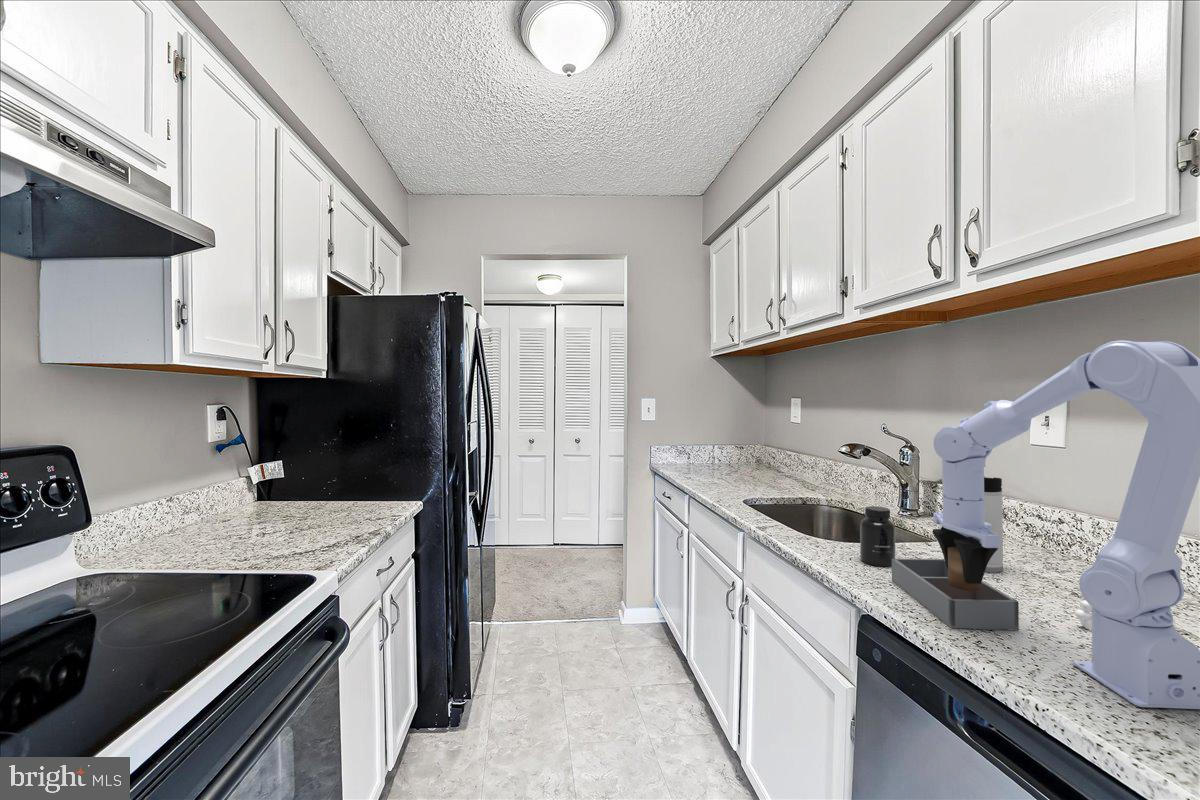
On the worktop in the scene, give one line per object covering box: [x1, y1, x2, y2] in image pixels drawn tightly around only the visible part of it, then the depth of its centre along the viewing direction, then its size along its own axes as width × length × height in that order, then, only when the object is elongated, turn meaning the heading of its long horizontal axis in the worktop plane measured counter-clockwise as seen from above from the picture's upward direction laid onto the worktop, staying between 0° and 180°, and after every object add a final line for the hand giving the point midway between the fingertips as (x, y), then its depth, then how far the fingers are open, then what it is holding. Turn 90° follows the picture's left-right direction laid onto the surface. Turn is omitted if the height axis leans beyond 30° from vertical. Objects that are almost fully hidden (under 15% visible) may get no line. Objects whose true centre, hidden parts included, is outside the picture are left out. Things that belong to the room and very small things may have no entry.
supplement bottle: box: [859, 505, 896, 568], centre depth 110 cm, size 7×7×12 cm
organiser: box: [891, 558, 1020, 631], centre depth 89 cm, size 20×10×4 cm, turn 174°
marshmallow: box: [1073, 599, 1092, 631], centre depth 78 cm, size 5×1×4 cm, turn 68°
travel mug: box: [984, 475, 1004, 574], centre depth 105 cm, size 6×7×20 cm
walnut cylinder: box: [948, 546, 980, 591], centre depth 84 cm, size 4×4×6 cm
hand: (964, 577), depth 84 cm, fingers closed on walnut cylinder, 4 cm apart
